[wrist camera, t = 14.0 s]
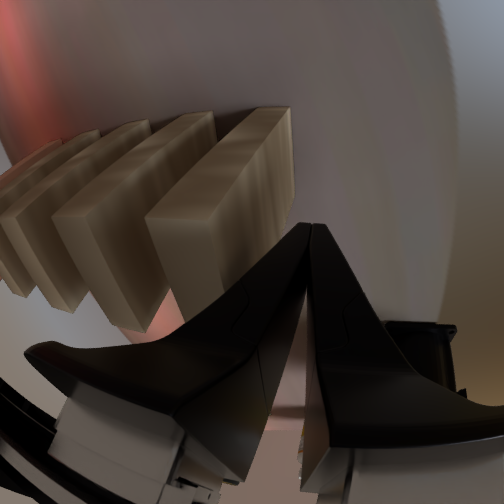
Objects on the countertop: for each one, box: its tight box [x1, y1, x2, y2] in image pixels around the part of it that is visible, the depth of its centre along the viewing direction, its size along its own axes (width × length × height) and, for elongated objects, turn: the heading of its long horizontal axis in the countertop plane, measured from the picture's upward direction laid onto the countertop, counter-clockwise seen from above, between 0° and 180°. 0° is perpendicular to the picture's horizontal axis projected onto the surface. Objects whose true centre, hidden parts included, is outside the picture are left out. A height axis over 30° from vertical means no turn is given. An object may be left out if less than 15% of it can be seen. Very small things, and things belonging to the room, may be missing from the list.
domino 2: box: [0, 129, 101, 298], centre depth 15 cm, size 2×5×10 cm, turn 6°
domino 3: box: [0, 119, 152, 314], centre depth 14 cm, size 2×5×10 cm, turn 6°
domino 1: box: [0, 139, 63, 281], centre depth 16 cm, size 2×5×10 cm, turn 6°
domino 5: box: [144, 107, 295, 323], centre depth 12 cm, size 2×5×10 cm, turn 7°
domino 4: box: [51, 110, 218, 333], centre depth 13 cm, size 2×5×10 cm, turn 7°
